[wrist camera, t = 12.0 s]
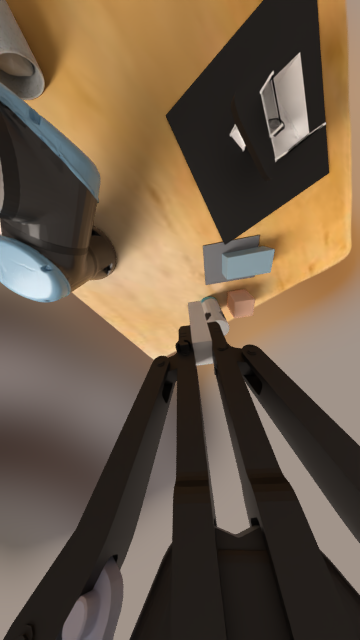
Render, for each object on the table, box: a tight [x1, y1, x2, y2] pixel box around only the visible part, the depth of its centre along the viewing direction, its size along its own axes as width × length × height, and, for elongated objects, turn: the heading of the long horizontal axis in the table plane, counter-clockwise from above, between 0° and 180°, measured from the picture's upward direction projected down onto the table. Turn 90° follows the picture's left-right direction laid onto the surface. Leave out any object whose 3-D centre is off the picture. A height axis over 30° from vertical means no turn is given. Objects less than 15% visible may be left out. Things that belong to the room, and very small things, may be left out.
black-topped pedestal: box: [166, 0, 329, 245], centre depth 25 cm, size 28×26×13 cm
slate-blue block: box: [222, 246, 275, 280], centre depth 41 cm, size 6×6×12 cm
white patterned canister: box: [201, 296, 229, 336], centre depth 47 cm, size 7×7×15 cm
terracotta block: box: [227, 289, 255, 318], centre depth 48 cm, size 6×6×8 cm
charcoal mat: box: [203, 235, 260, 285], centre depth 44 cm, size 16×12×1 cm
